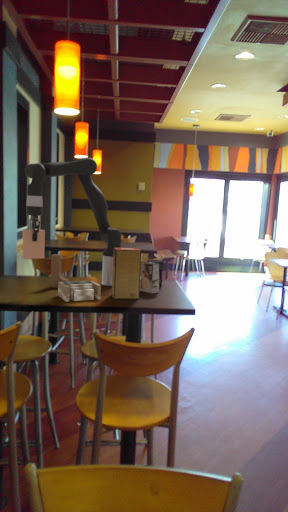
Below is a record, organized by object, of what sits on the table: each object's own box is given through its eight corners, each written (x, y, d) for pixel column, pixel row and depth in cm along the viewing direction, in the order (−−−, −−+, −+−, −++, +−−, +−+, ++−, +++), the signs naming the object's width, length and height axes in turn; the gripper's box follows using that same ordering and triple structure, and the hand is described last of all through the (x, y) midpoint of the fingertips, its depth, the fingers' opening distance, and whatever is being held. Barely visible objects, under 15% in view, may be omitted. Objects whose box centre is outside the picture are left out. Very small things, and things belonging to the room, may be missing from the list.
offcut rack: (90, 293, 206) (91, 280, 205) (100, 299, 194) (101, 285, 194) (57, 295, 197) (58, 281, 197) (66, 301, 186) (66, 287, 185)
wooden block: (68, 287, 219) (69, 255, 217) (66, 288, 215) (67, 256, 212) (53, 285, 220) (54, 253, 218) (50, 287, 216) (51, 254, 214)
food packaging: (135, 294, 209) (138, 248, 206) (139, 299, 200) (142, 250, 197) (110, 294, 206) (113, 247, 203) (113, 299, 197) (115, 249, 194)
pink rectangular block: (42, 257, 198) (43, 229, 196) (44, 258, 196) (45, 230, 194) (22, 257, 193) (22, 229, 192) (23, 258, 191) (24, 229, 189)
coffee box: (159, 292, 218) (161, 263, 216) (151, 293, 213) (153, 264, 212) (147, 289, 224) (148, 261, 222) (139, 290, 220) (140, 262, 218)
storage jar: (162, 287, 231) (163, 262, 230) (145, 286, 231) (146, 261, 230) (161, 284, 241) (163, 260, 239) (145, 283, 241) (147, 259, 240)
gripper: (46, 206, 187) (45, 242, 189) (38, 205, 199) (37, 239, 201) (30, 205, 183) (29, 242, 185) (23, 204, 196) (22, 239, 198)
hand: (33, 240), depth 193 cm, fingers closed on pink rectangular block, 3 cm apart
